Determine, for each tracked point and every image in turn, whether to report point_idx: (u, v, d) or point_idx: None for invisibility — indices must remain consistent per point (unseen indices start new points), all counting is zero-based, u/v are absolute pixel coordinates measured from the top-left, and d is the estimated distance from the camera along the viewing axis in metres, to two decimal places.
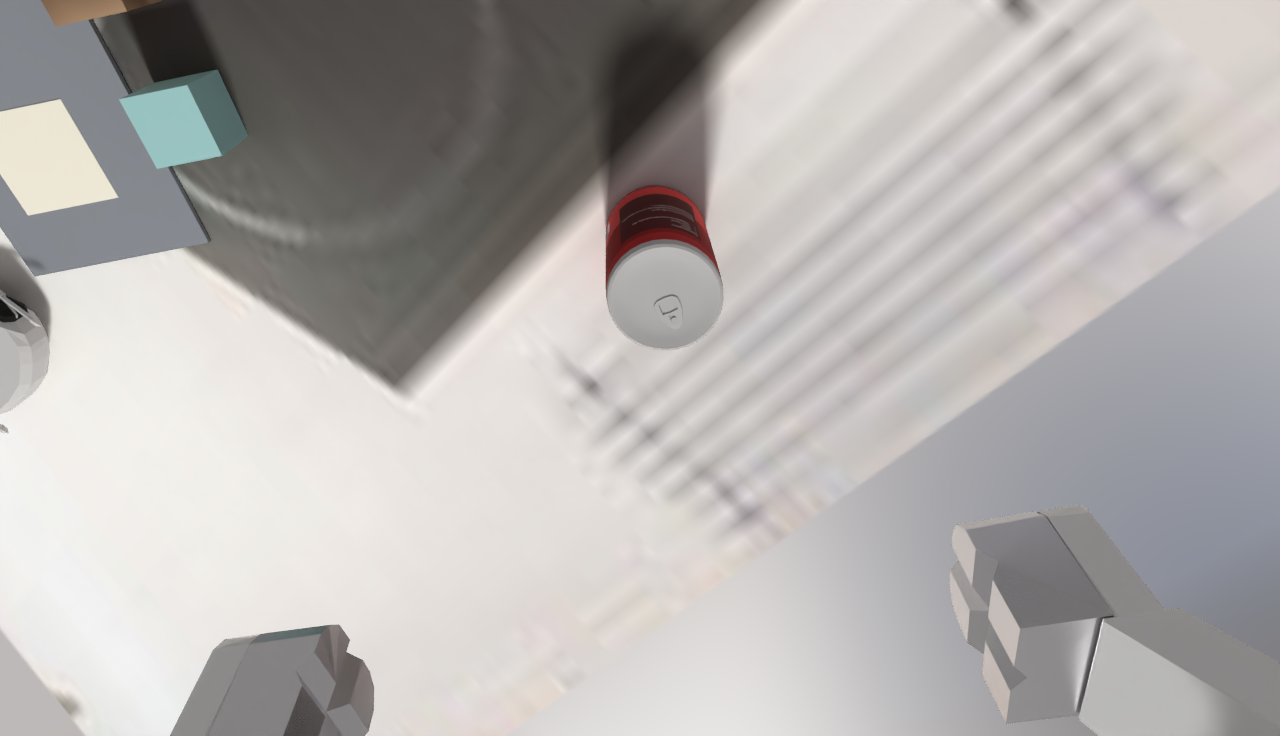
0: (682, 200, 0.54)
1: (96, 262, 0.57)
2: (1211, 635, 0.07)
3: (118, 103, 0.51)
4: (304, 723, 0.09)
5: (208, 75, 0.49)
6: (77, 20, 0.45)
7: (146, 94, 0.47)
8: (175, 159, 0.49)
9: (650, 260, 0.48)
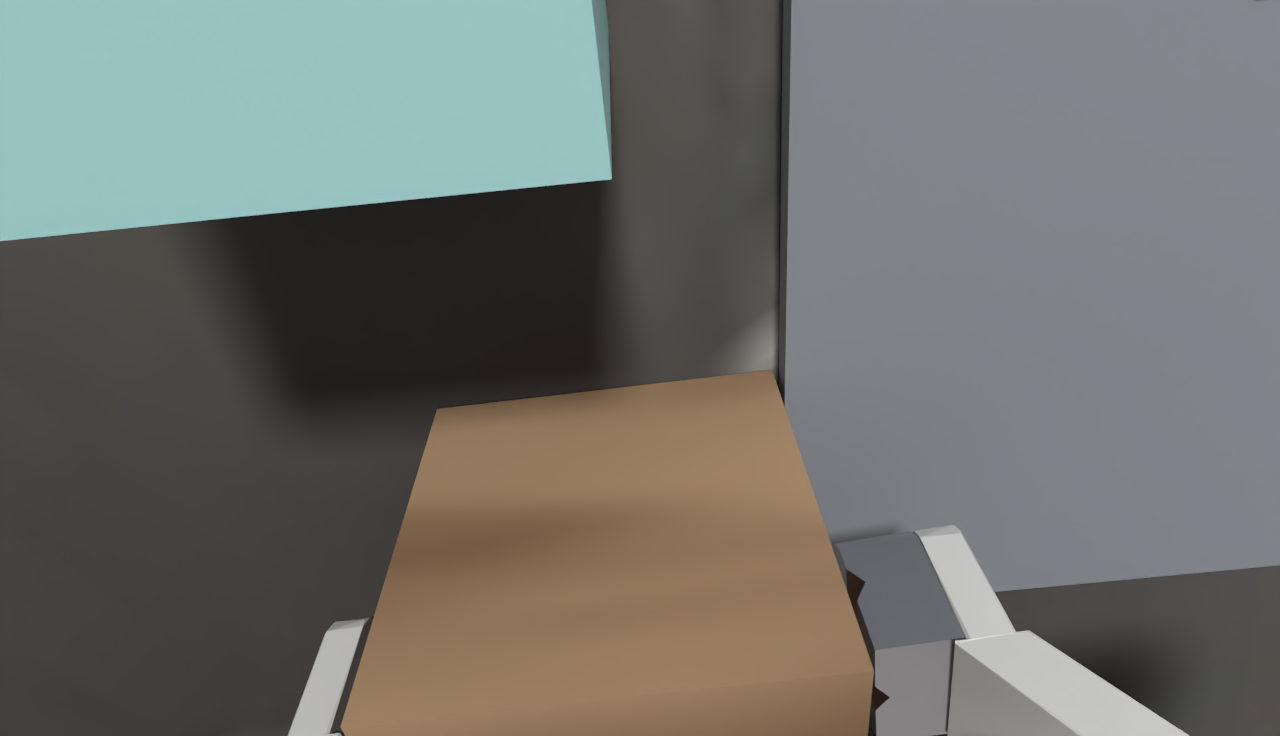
0: None
1: None
2: (1053, 658, 0.07)
3: None
4: None
5: None
6: (703, 693, 0.06)
7: (267, 204, 0.04)
8: None
9: None
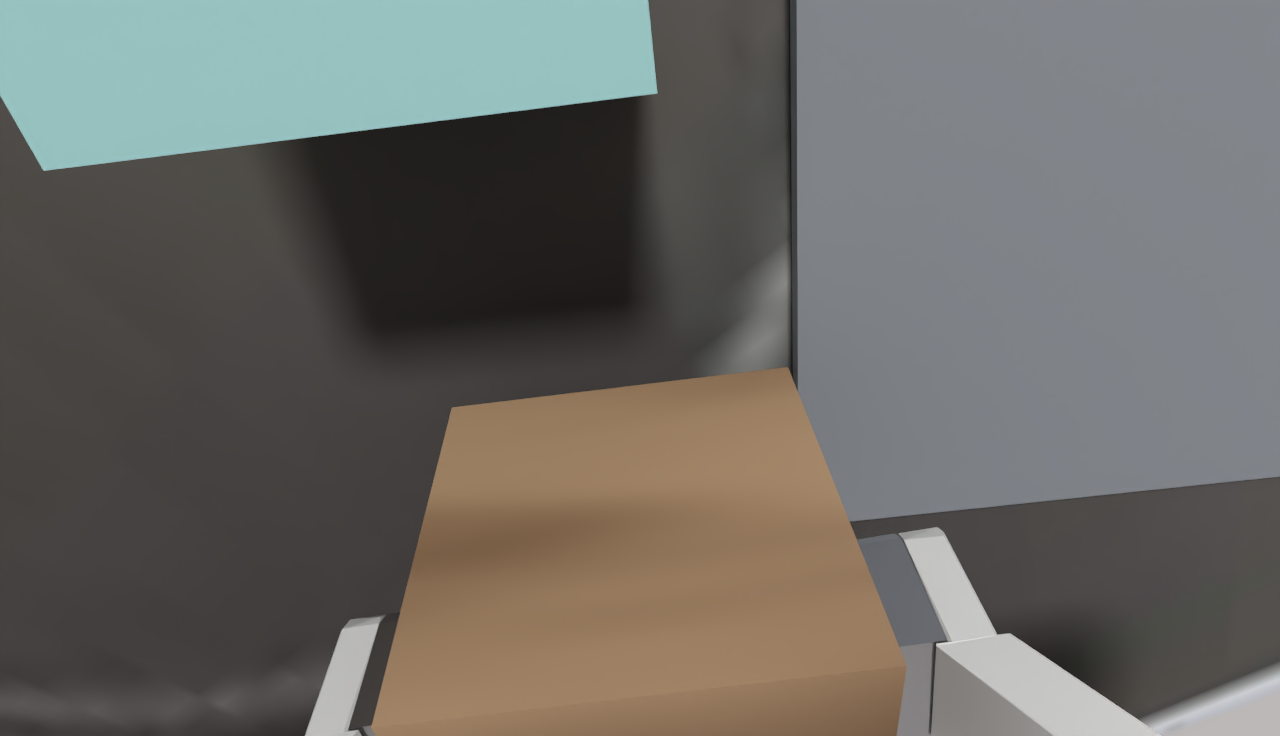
0: None
1: None
2: (1033, 660, 0.07)
3: None
4: None
5: None
6: (736, 690, 0.06)
7: (403, 117, 0.05)
8: None
9: None
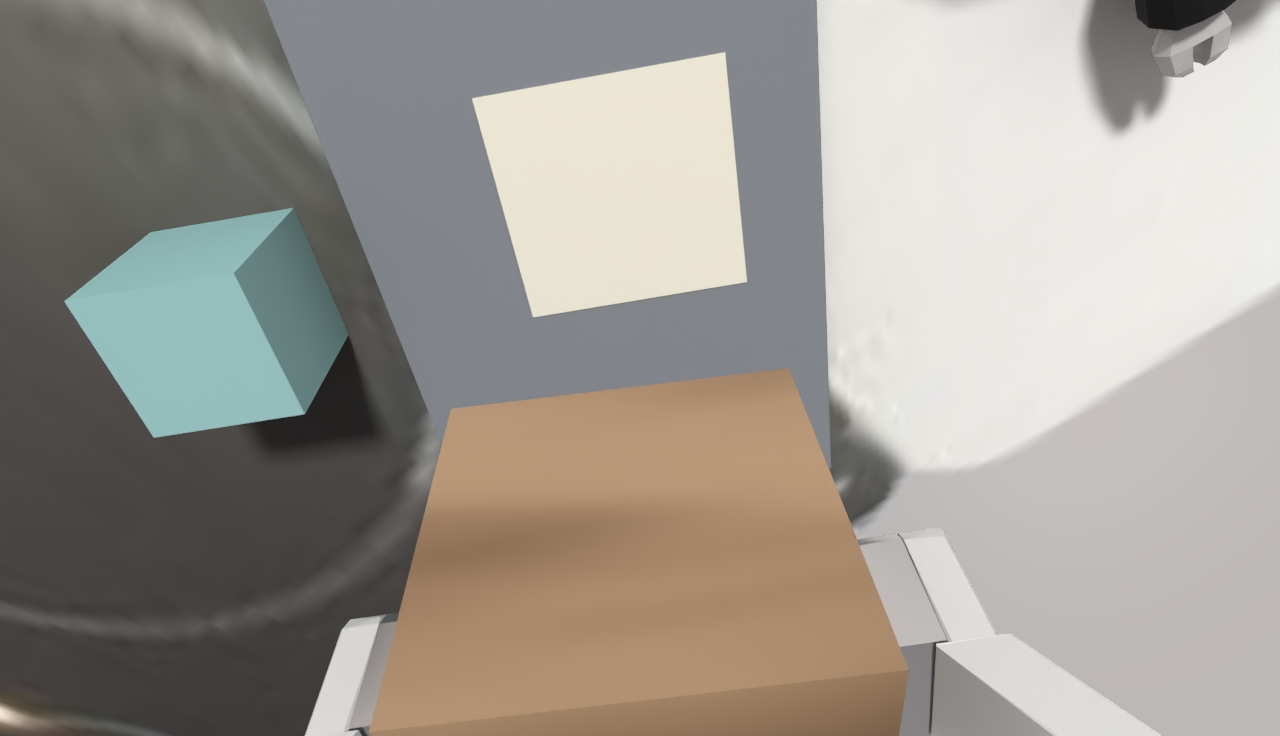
0: None
1: None
2: (1034, 661, 0.07)
3: (418, 308, 0.24)
4: None
5: None
6: (737, 694, 0.06)
7: (243, 422, 0.22)
8: (184, 294, 0.19)
9: None
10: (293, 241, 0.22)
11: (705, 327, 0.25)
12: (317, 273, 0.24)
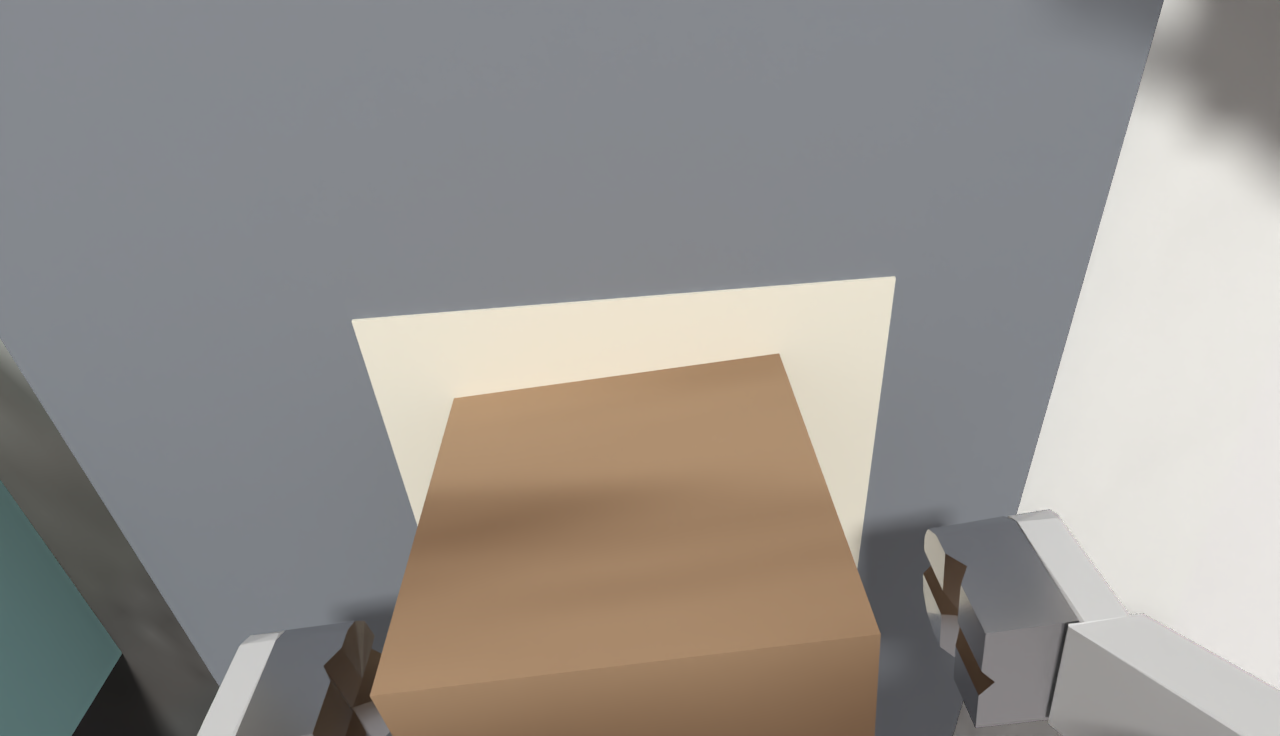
0: None
1: None
2: (1174, 640, 0.07)
3: (246, 635, 0.13)
4: (333, 719, 0.09)
5: None
6: (716, 658, 0.07)
7: None
8: None
9: None
10: None
11: None
12: (48, 574, 0.12)
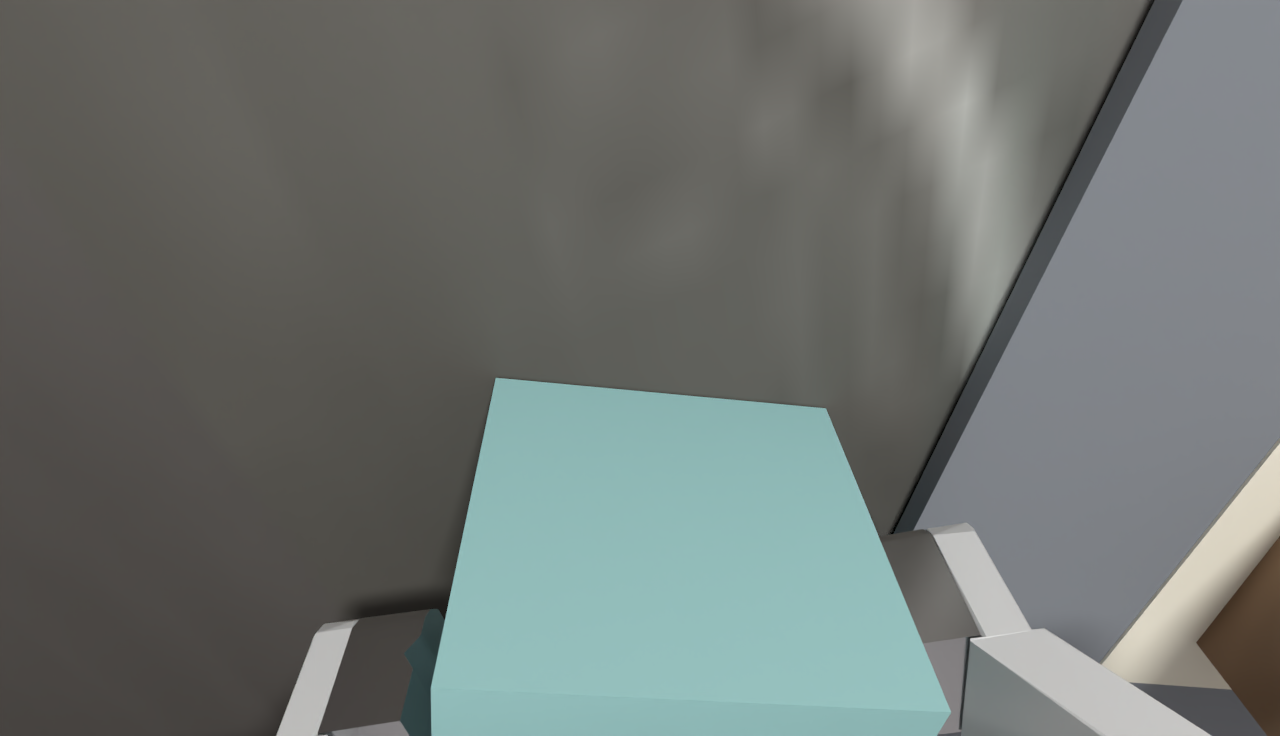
0: None
1: None
2: (1069, 655, 0.07)
3: None
4: (416, 706, 0.09)
5: None
6: None
7: None
8: (779, 728, 0.07)
9: None
10: None
11: None
12: None
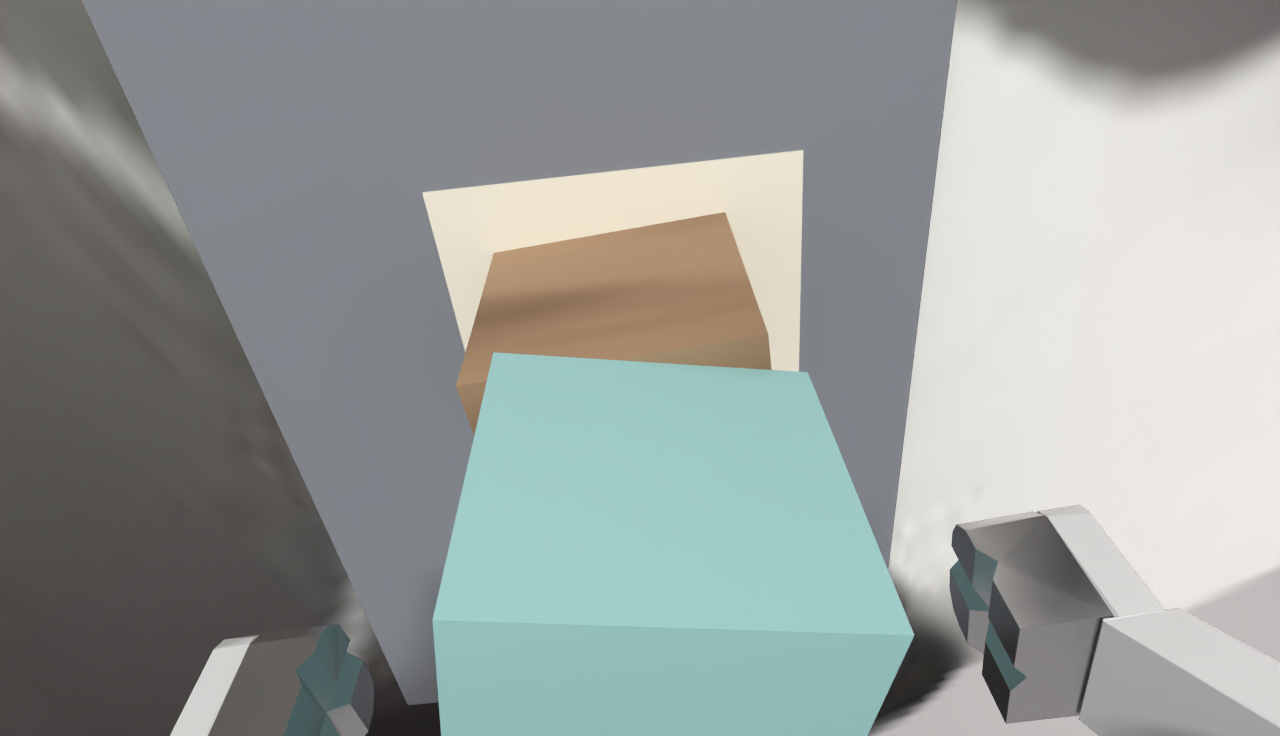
0: None
1: None
2: (1211, 634, 0.07)
3: (338, 459, 0.17)
4: (304, 723, 0.09)
5: None
6: (668, 354, 0.11)
7: None
8: (755, 654, 0.07)
9: None
10: None
11: None
12: None
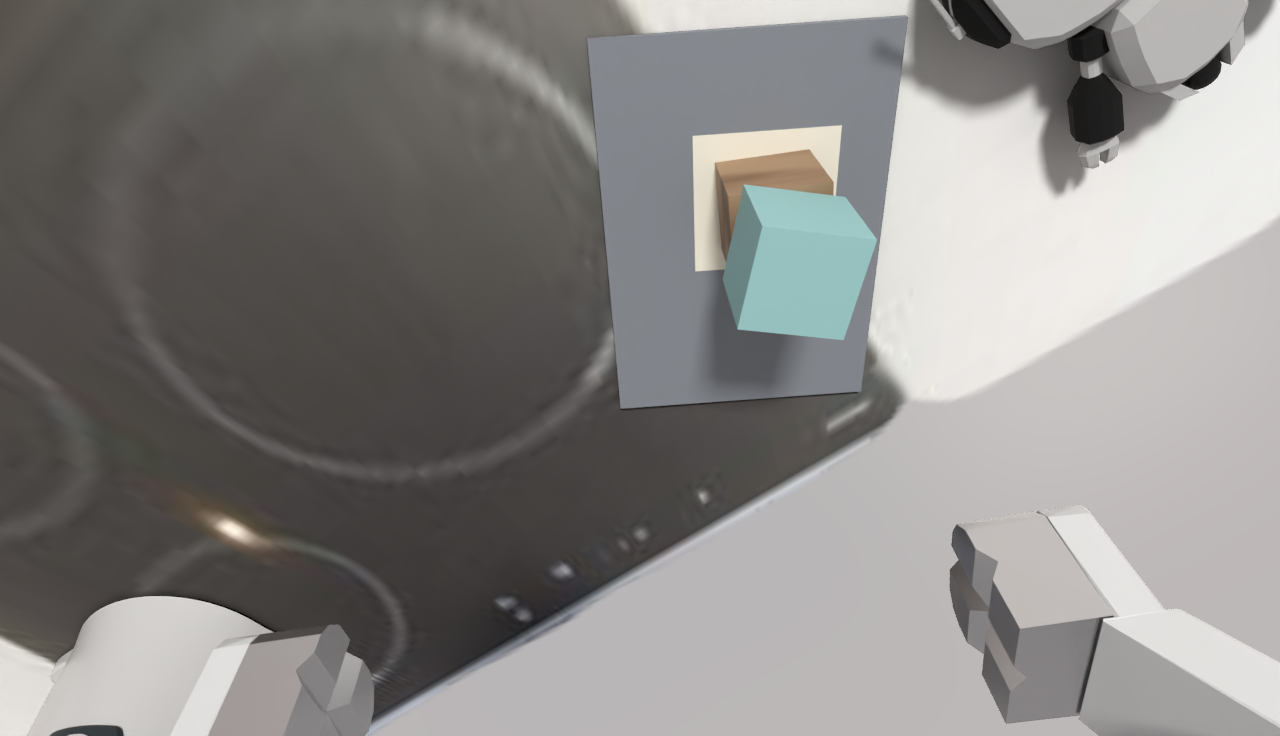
0: None
1: (790, 28, 0.33)
2: (1211, 635, 0.07)
3: (626, 258, 0.39)
4: (304, 722, 0.09)
5: (727, 293, 0.33)
6: (800, 188, 0.32)
7: (801, 334, 0.31)
8: (837, 243, 0.29)
9: None
10: None
11: None
12: None
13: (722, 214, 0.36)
